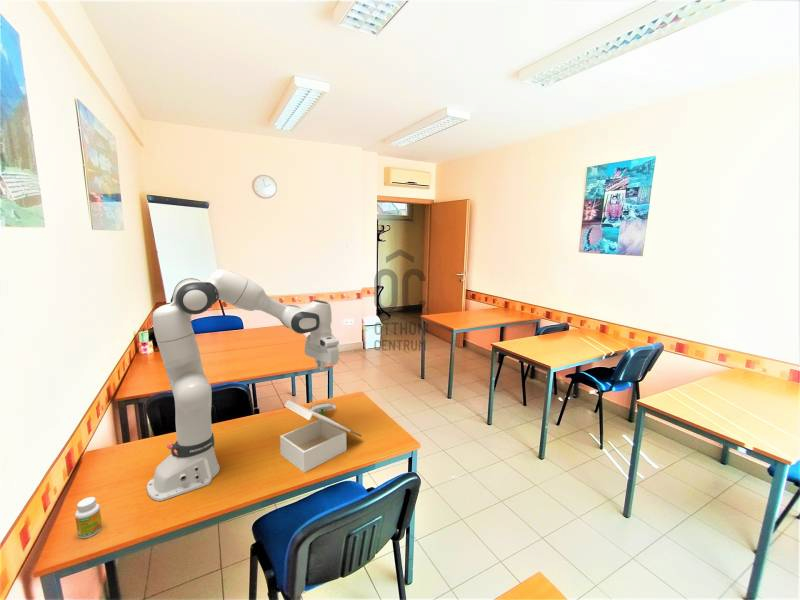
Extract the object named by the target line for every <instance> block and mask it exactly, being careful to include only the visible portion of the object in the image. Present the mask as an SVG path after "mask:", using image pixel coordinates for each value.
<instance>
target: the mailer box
mask: <svg viewBox="0 0 800 600" xmlns="http://www.w3.org/2000/svg"><path fill="white" fill-rule="evenodd" d="M279 441H280V443H279V447H280V455H281V456H282V457H283V458H285V459H286V460H287V461H288V462H290V463H291V464H292V465H294V466H295V467H296V468H297V469H298V470H300V471H301V472H303V473H306V472H309V471H310V470H312V469H314V468H316V467H318V466H320V465H322V464H323V463H325V462H327V461H330V460H331V459H333V458H335V457H337V456H339V455H340V454H342V453H345V452H346V451H347V450H348V449H347V432H346V430H344V429H342V428H340V427H337V426H335V425H333V424H331V423H328V422H326V421H324V420H321V419H318V420H315V421H313V422H310V423H307V424H306V425H303V426H301V427H299V428H296V429H294V430H291V431H289V432H287V433H284V434H281V435H279Z"/></svg>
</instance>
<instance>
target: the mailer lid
mask: <svg viewBox="0 0 800 600" xmlns="http://www.w3.org/2000/svg"><path fill="white" fill-rule="evenodd" d="M284 407H286V408H287V409H289V410H291V411H293V412H294V413H295V414H298V415H299V416H301V418H305V419H306V420H308V421H311V419H312V418H313V417H315V418H317V419H318V420H320V419H321V420H324V421H326V422H328V423H330V424H332V425H334V426H336V427H338V428H339V429H341V430H343V431H347V432H349V433H352V434H353V435H356V436H358V437H362V434H360V433H358V432H356V431H354V430H352V429H351V428H348V427H347V426H345V425H343V424H342V423H340V422H337V421H335V420H334V419H331V418H329V417H327V416H325V415H324V416H323V415H321V413H319V412H318V413H316V412H314V411H311V410H309V409H310V408H307V407H304V406H303V405H300V404H298V403H296V402H293V401H291V400H289V399H287V400H286V402H285V404H284Z"/></svg>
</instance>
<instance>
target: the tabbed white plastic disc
mask: <svg viewBox="0 0 800 600" xmlns="http://www.w3.org/2000/svg"><path fill="white" fill-rule="evenodd" d="M336 405H337V404H335V403H334V404H333V403H332V402H321V403H318V404H314V405H312V406H311V407H310V408H308V409H309V410H311V411H314V412H318V413H320V415H323V416H325V414H324V412H327V411H329V410H335V409H336V408H337V406H336ZM323 411H324V412H323Z"/></svg>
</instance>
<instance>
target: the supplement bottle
mask: <svg viewBox="0 0 800 600" xmlns="http://www.w3.org/2000/svg"><path fill="white" fill-rule="evenodd" d="M76 507H77V510H76V511H75V514H74V516H75V523H76V532H77V537H78V538H79V539H86V538H87V539H88V538H90V537H93V536H94V535H96V534H98V533H99V532H100V531H101V530H102V527H103V524H102V523H103V522H102V515H101V514H102V513H101V506H100V504H99V503H97V501H96V497H94V496H90V497H85V498H83V499H82V500H80V501H79V502H78V503H77V506H76Z"/></svg>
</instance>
